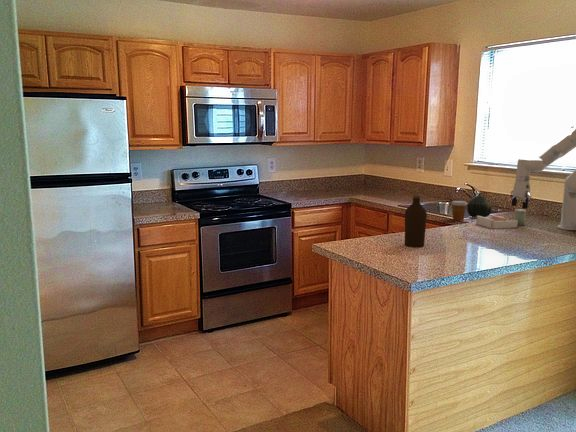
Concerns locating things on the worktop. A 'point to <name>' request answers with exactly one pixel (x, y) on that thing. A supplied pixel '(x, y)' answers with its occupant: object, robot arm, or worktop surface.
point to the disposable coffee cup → (458, 210)
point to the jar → (520, 216)
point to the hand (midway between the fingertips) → (519, 207)
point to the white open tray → (495, 222)
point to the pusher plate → (498, 218)
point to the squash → (479, 207)
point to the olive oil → (415, 223)
